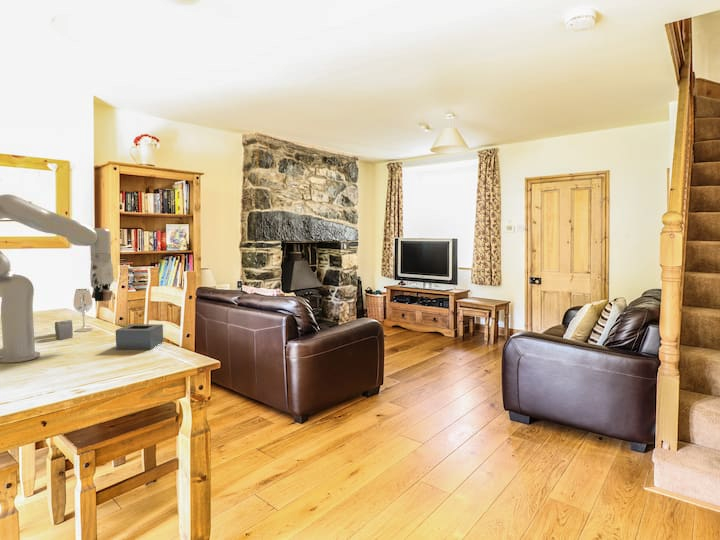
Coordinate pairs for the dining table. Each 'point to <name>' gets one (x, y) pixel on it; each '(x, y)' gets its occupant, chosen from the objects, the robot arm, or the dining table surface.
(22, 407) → the dining table surface
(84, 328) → the wineglass
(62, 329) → the grey block
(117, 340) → the box
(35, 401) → the dining table surface
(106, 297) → the brown block
